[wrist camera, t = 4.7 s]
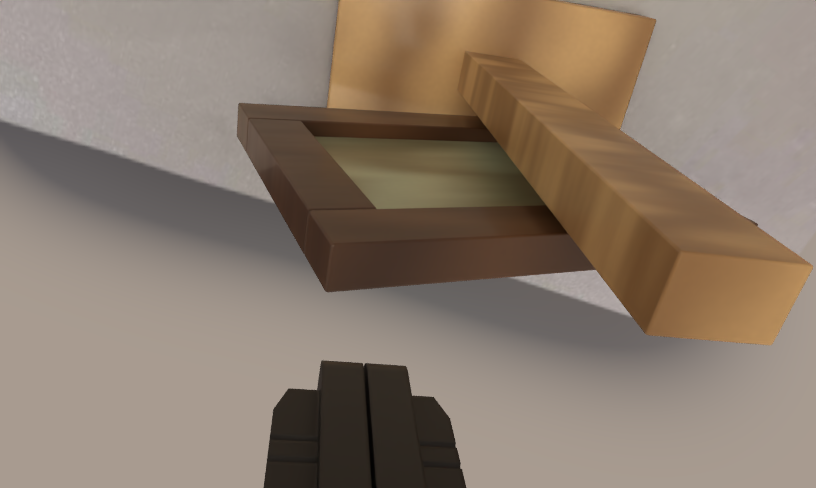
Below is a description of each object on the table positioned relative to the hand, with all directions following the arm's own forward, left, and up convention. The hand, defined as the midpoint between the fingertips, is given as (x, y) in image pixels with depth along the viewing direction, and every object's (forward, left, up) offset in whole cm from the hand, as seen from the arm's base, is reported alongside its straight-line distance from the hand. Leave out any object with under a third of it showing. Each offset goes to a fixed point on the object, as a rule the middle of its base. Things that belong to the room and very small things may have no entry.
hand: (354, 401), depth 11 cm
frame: (+3, 0, -19) cm, 19 cm away
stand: (+7, +2, -24) cm, 25 cm away
